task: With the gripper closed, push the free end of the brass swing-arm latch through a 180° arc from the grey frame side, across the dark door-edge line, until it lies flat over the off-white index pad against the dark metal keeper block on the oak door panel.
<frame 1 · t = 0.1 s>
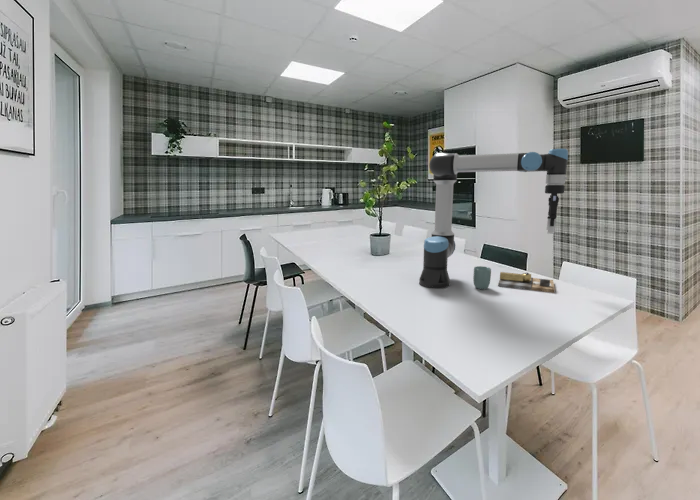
hand: (550, 231, 160), 28 cm above the table, fingers open, 13 cm apart
cup: (481, 288, 169), on the table
latch arm: (515, 275, 174), point 4 cm above the table, hinge at 180.0°
door board: (525, 284, 174), on the table
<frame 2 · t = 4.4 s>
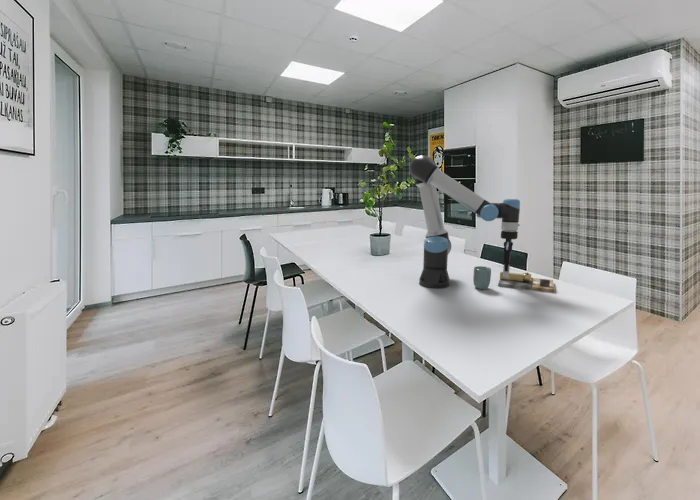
hand: (505, 277, 175), 3 cm above the table, fingers closed
latch arm: (515, 275, 175), point 4 cm above the table, hinge at 176.7°, touching gripper
everything else where it was.
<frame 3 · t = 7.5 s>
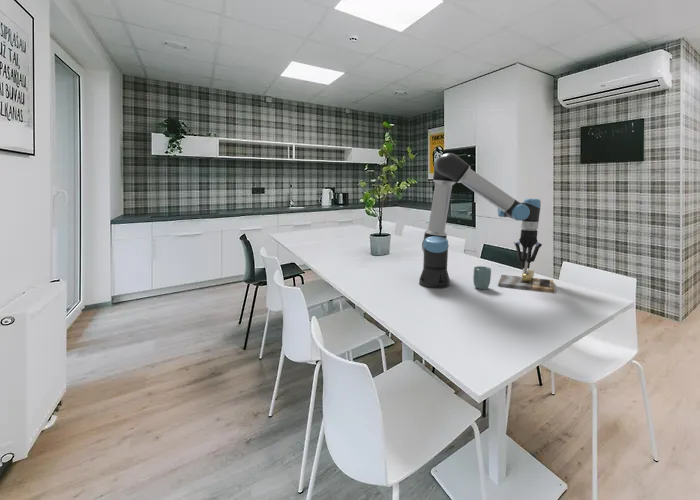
hand: (524, 274, 181), 3 cm above the table, fingers closed
latch arm: (528, 274, 176), point 4 cm above the table, hinge at 81.0°, touching gripper
everything else where it was.
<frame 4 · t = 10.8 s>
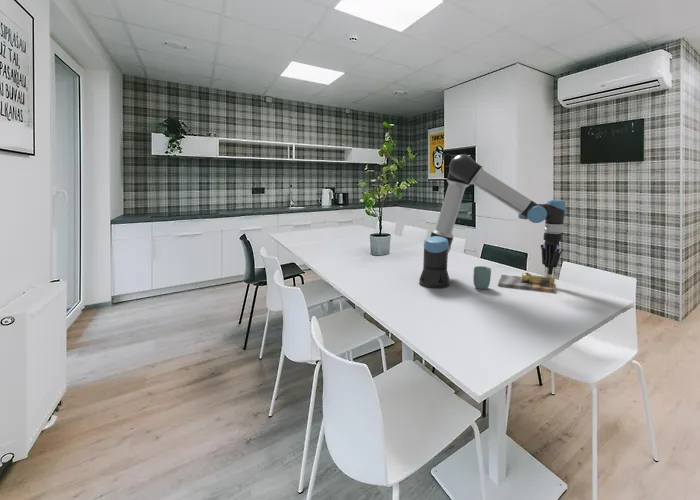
hand: (547, 280, 171), 3 cm above the table, fingers closed
latch arm: (537, 278, 170), point 4 cm above the table, hinge at 0.4°, touching gripper
everything else where it was.
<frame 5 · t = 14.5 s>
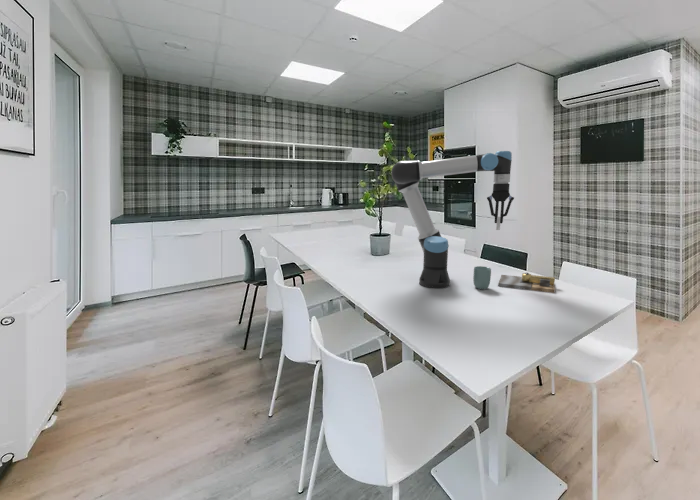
hand: (498, 229, 179), 26 cm above the table, fingers closed
latch arm: (537, 278, 170), point 4 cm above the table, hinge at 0.3°
everything else where it was.
at the end: latch arm at +0° (first picture: +180°) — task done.
